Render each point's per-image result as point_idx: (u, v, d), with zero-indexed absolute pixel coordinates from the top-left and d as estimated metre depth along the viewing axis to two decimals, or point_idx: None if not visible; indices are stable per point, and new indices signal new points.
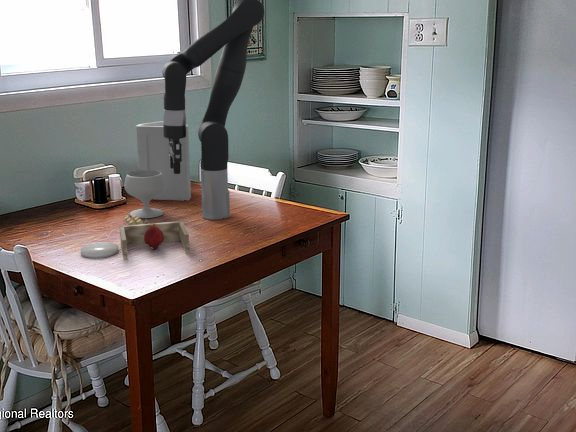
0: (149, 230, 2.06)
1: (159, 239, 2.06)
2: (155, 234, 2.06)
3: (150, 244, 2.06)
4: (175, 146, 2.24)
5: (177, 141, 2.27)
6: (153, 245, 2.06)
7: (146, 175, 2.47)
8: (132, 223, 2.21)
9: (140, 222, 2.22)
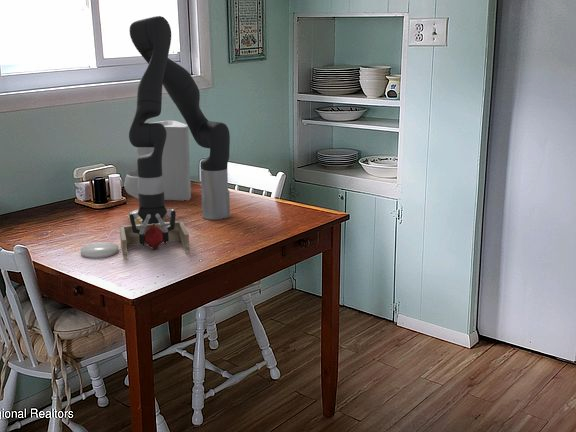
0: (149, 230, 2.06)
1: (159, 239, 2.06)
2: (155, 234, 2.06)
3: (150, 244, 2.06)
4: (175, 213, 2.07)
5: (164, 207, 2.07)
6: (153, 245, 2.06)
7: None
8: (135, 222, 2.22)
9: None
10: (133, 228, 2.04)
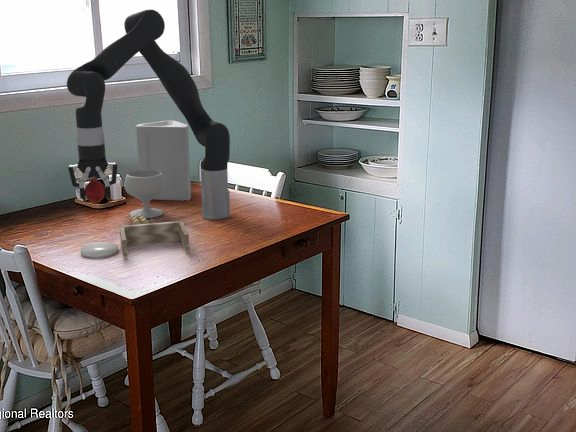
0: (90, 184, 1.99)
1: (100, 193, 2.00)
2: (95, 188, 1.99)
3: (91, 198, 1.99)
4: None
5: (105, 160, 2.00)
6: (94, 199, 2.00)
7: (146, 175, 2.47)
8: (137, 222, 2.22)
9: (145, 221, 2.24)
10: (72, 181, 1.98)
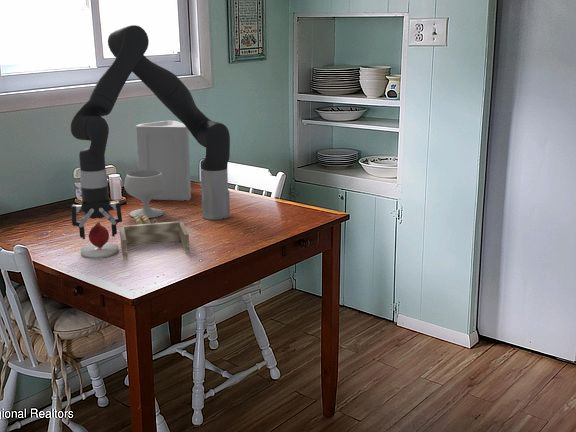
0: (93, 229, 2.03)
1: (104, 238, 2.03)
2: (99, 233, 2.03)
3: (95, 243, 2.03)
4: None
5: (108, 201, 2.04)
6: (98, 244, 2.04)
7: (146, 175, 2.47)
8: (139, 221, 2.23)
9: (147, 220, 2.24)
10: (73, 221, 2.01)
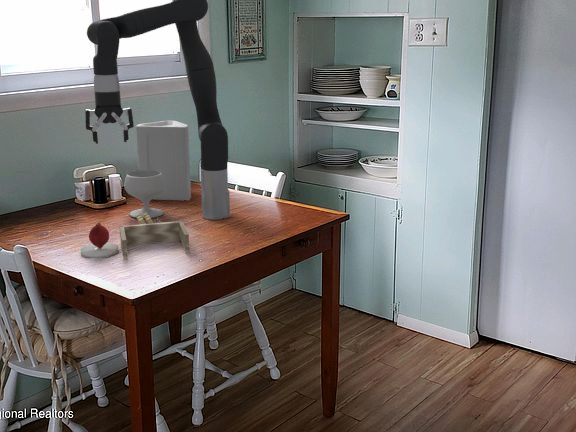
0: (94, 229, 2.03)
1: (104, 238, 2.04)
2: (99, 233, 2.03)
3: (95, 243, 2.03)
4: (131, 110, 2.12)
5: (120, 107, 2.12)
6: (98, 244, 2.04)
7: (146, 175, 2.47)
8: (141, 221, 2.24)
9: (149, 220, 2.25)
10: (86, 124, 2.09)
